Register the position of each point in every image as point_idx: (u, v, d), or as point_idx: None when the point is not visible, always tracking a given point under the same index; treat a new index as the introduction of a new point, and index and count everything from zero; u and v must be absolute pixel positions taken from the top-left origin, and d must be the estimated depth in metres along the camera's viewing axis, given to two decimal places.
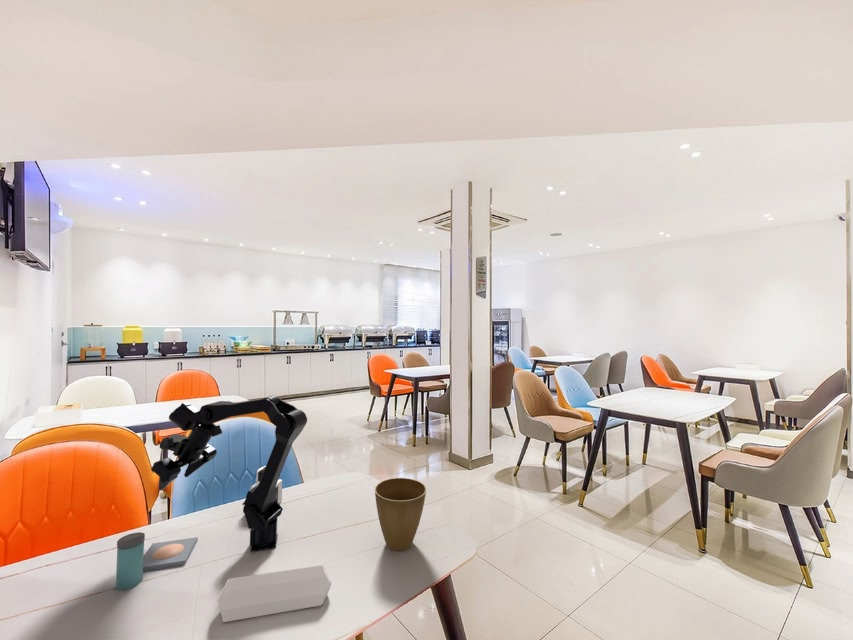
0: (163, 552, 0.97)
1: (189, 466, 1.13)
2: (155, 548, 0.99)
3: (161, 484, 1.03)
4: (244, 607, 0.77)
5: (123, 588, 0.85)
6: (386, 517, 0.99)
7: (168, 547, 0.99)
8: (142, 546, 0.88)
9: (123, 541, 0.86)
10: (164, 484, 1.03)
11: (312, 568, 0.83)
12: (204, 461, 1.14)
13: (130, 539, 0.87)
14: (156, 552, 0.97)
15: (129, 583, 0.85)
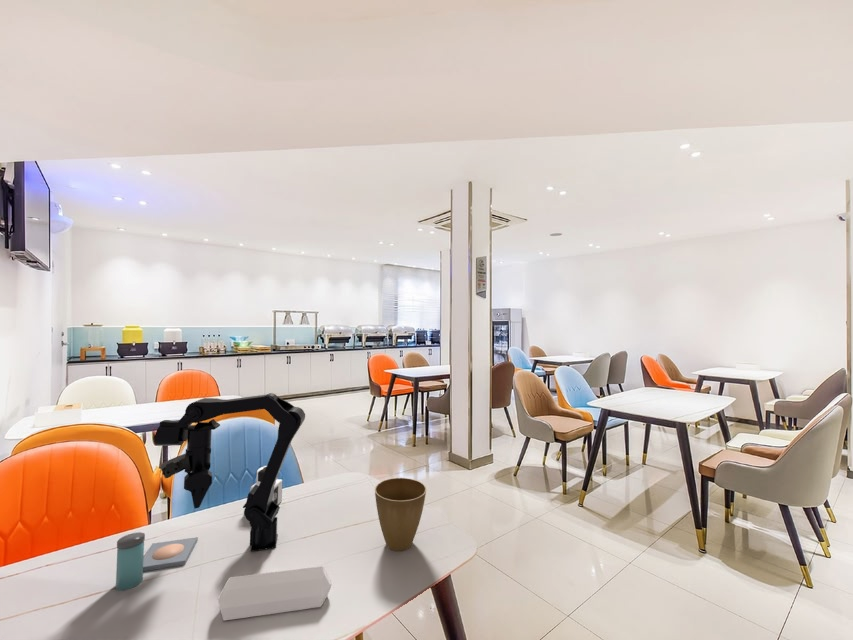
0: (163, 552, 0.97)
1: None
2: (155, 548, 0.99)
3: (197, 500, 0.97)
4: (244, 607, 0.77)
5: (123, 588, 0.85)
6: (386, 517, 0.99)
7: (168, 547, 0.99)
8: (142, 546, 0.88)
9: (123, 541, 0.86)
10: (201, 497, 0.97)
11: (312, 569, 0.83)
12: (207, 467, 1.08)
13: (130, 539, 0.87)
14: (156, 552, 0.97)
15: (129, 583, 0.85)
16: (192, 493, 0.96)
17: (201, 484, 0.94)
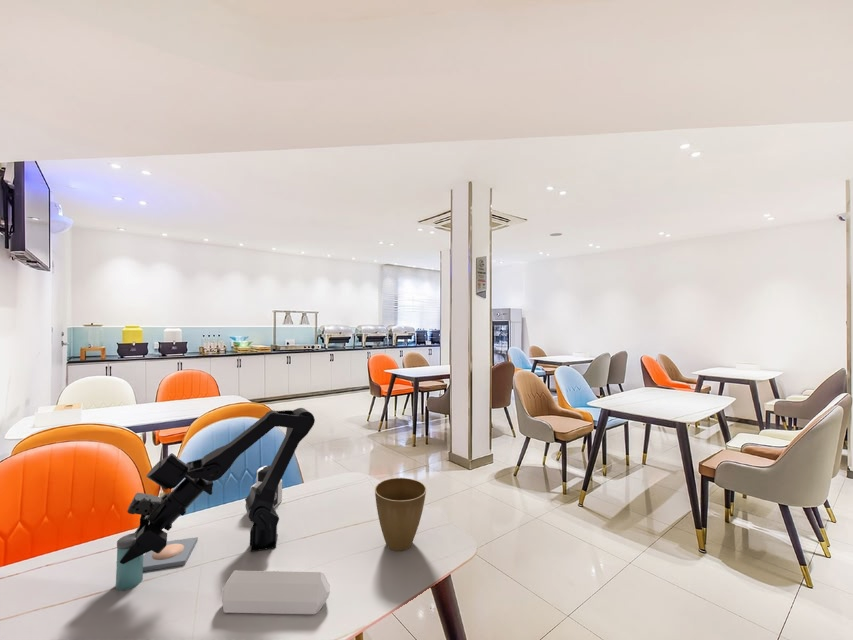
0: (163, 552, 0.97)
1: None
2: None
3: (130, 555, 0.84)
4: (243, 602, 0.78)
5: (123, 588, 0.85)
6: (386, 517, 0.99)
7: (168, 547, 0.99)
8: None
9: (123, 541, 0.86)
10: (136, 555, 0.85)
11: (310, 573, 0.81)
12: None
13: (130, 539, 0.87)
14: None
15: (129, 583, 0.85)
16: (135, 544, 0.84)
17: (152, 547, 0.82)
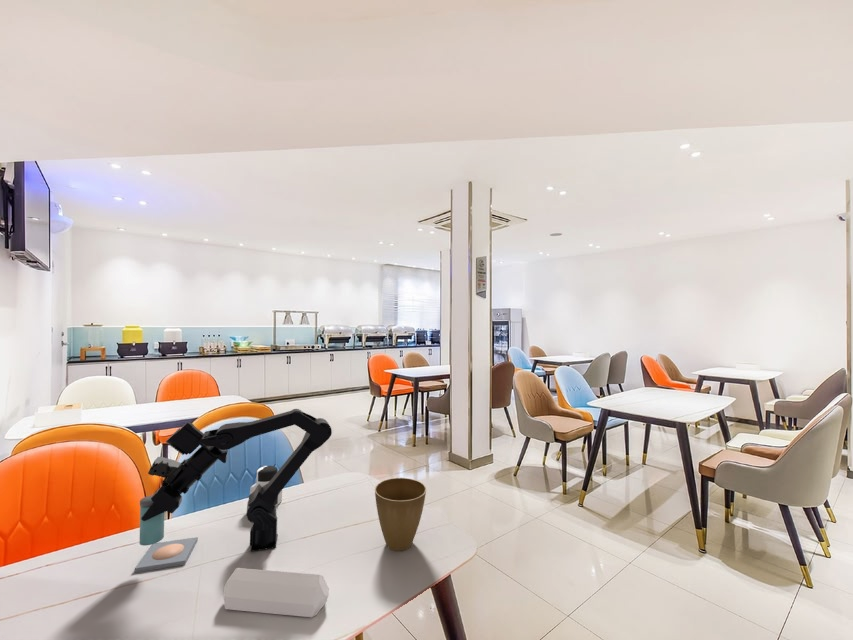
0: (163, 552, 0.97)
1: None
2: (155, 548, 0.99)
3: (149, 513, 0.90)
4: (243, 600, 0.79)
5: (145, 544, 0.91)
6: (386, 517, 0.99)
7: (168, 547, 0.99)
8: None
9: (145, 500, 0.92)
10: (155, 513, 0.90)
11: (309, 575, 0.81)
12: (180, 491, 0.99)
13: None
14: (156, 552, 0.97)
15: (150, 540, 0.91)
16: (153, 504, 0.90)
17: (165, 507, 0.87)
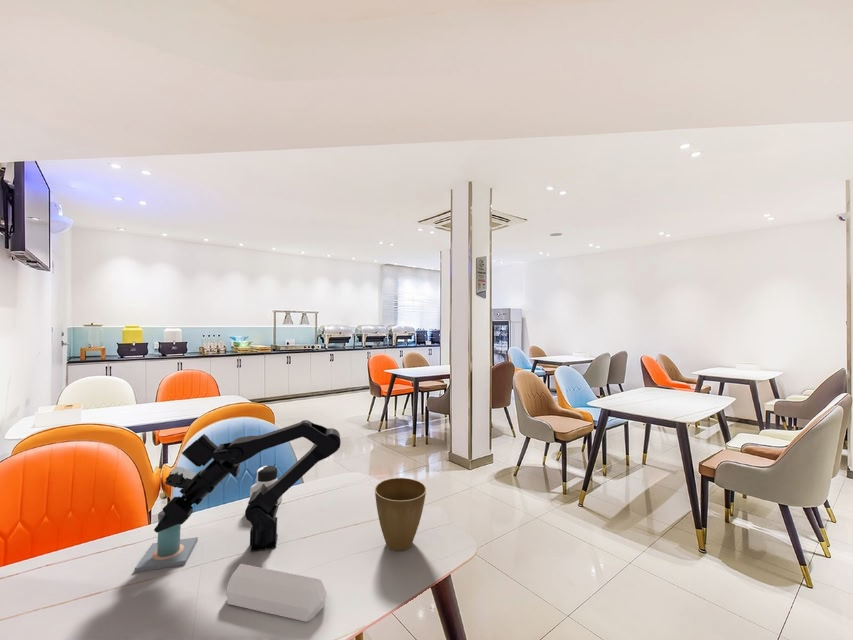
0: None
1: None
2: (155, 548, 0.99)
3: (161, 526, 0.93)
4: (244, 596, 0.80)
5: (161, 555, 0.95)
6: (386, 517, 0.99)
7: None
8: None
9: (163, 513, 0.97)
10: (166, 526, 0.93)
11: (307, 578, 0.80)
12: None
13: None
14: (156, 552, 0.97)
15: (165, 552, 0.95)
16: (164, 516, 0.92)
17: (175, 518, 0.90)
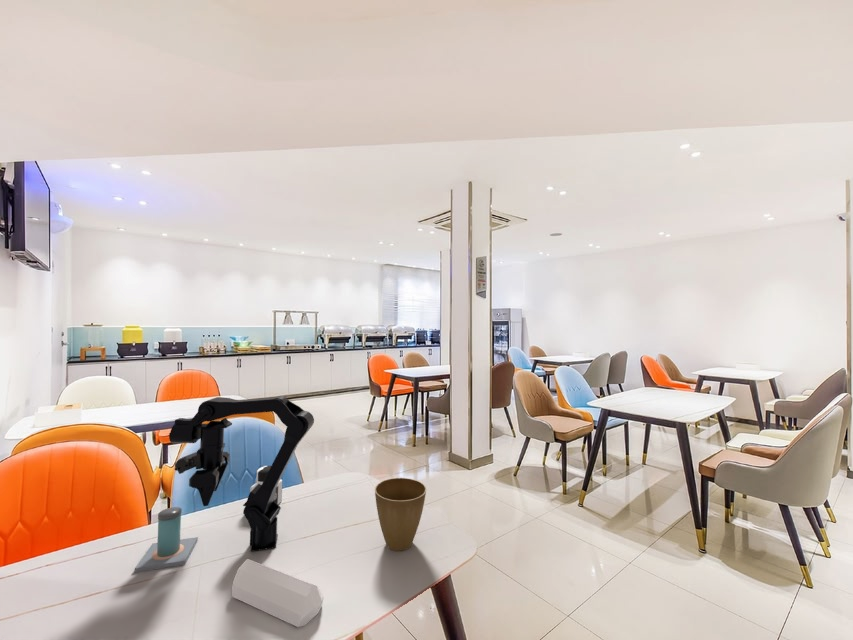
0: None
1: None
2: (155, 548, 0.99)
3: (205, 498, 0.98)
4: (246, 592, 0.81)
5: (161, 555, 0.95)
6: (386, 517, 0.99)
7: None
8: (177, 520, 0.97)
9: (163, 513, 0.97)
10: (209, 495, 0.98)
11: (302, 582, 0.79)
12: (224, 465, 1.09)
13: (168, 512, 0.97)
14: (156, 552, 0.97)
15: (165, 552, 0.95)
16: (199, 491, 0.97)
17: (205, 483, 0.95)
